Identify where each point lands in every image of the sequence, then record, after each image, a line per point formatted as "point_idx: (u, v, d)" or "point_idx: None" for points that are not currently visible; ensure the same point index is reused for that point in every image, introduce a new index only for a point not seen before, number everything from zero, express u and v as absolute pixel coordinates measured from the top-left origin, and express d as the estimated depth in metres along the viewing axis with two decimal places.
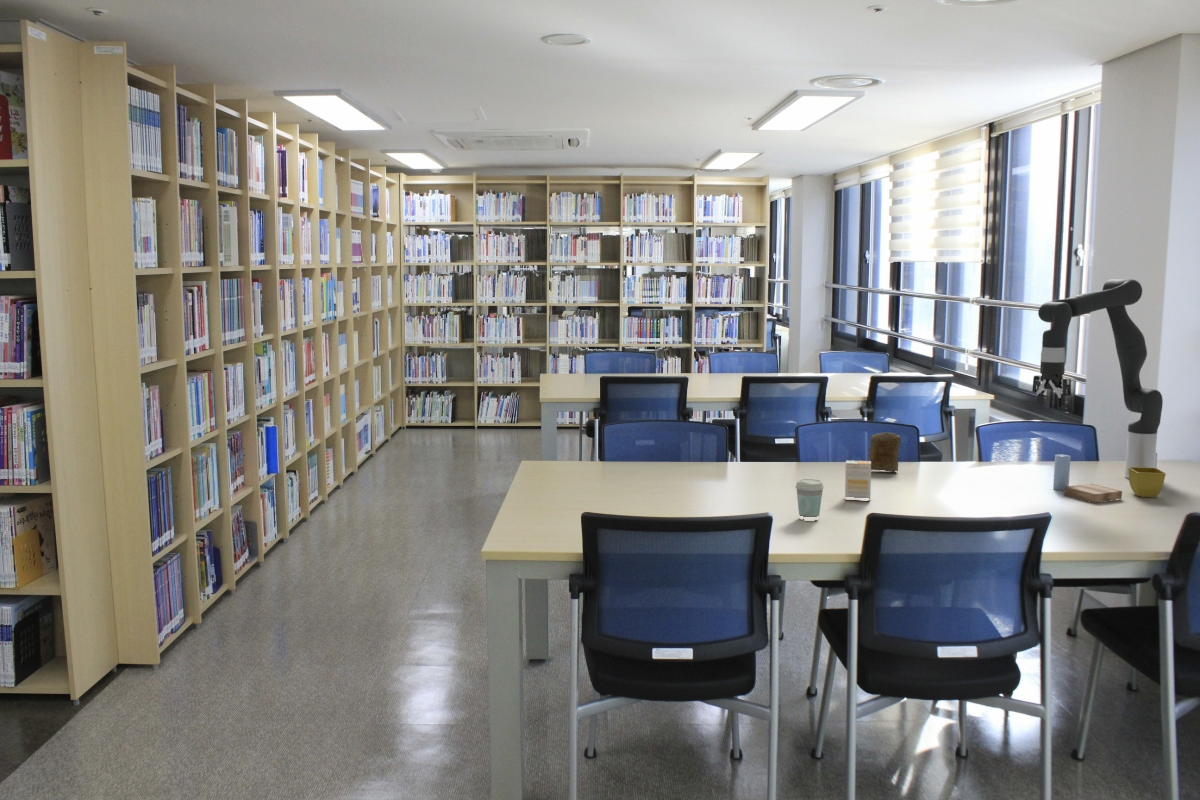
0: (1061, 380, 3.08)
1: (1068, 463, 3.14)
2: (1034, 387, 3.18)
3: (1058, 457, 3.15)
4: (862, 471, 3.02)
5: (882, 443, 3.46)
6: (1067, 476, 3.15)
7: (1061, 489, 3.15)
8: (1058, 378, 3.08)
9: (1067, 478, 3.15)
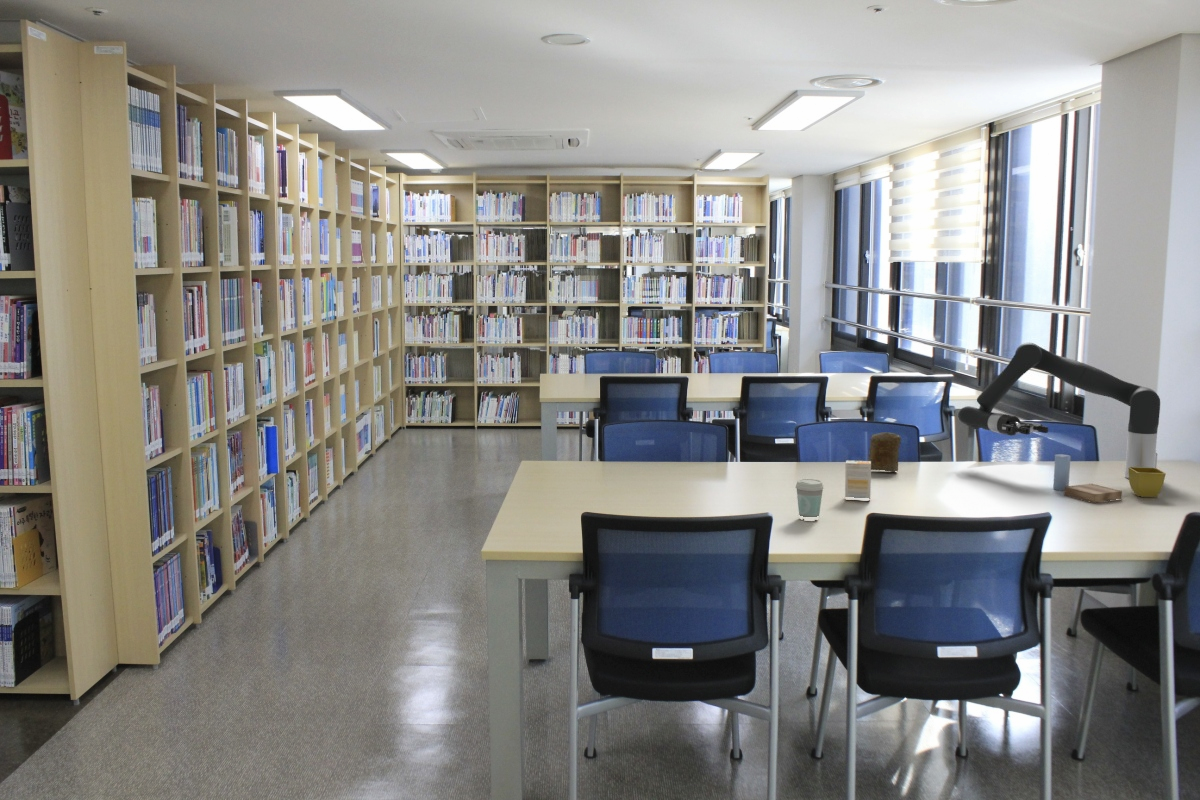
0: None
1: (1068, 463, 3.14)
2: None
3: (1058, 457, 3.15)
4: (862, 471, 3.02)
5: (882, 443, 3.46)
6: (1067, 476, 3.15)
7: (1061, 489, 3.15)
8: None
9: (1067, 478, 3.15)
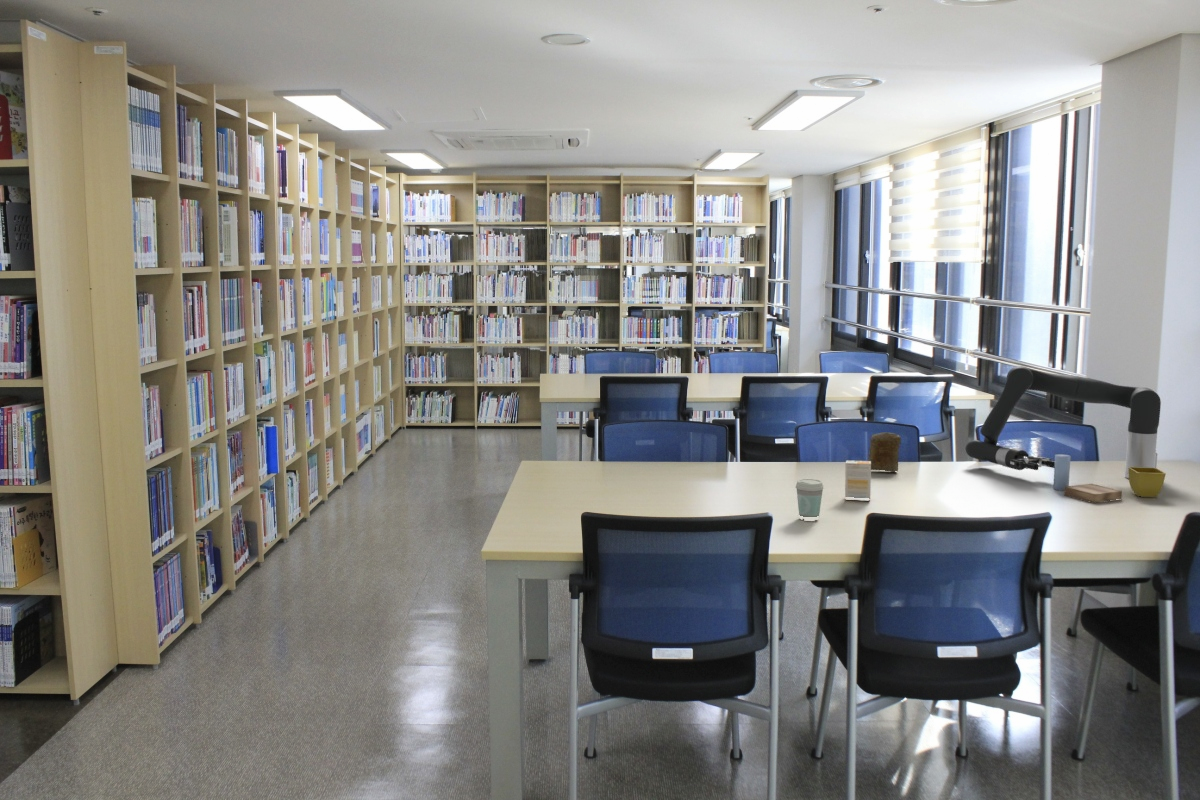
0: None
1: (1068, 463, 3.14)
2: None
3: (1058, 457, 3.15)
4: (862, 471, 3.02)
5: (882, 443, 3.46)
6: (1067, 476, 3.15)
7: (1061, 489, 3.15)
8: None
9: (1067, 478, 3.15)
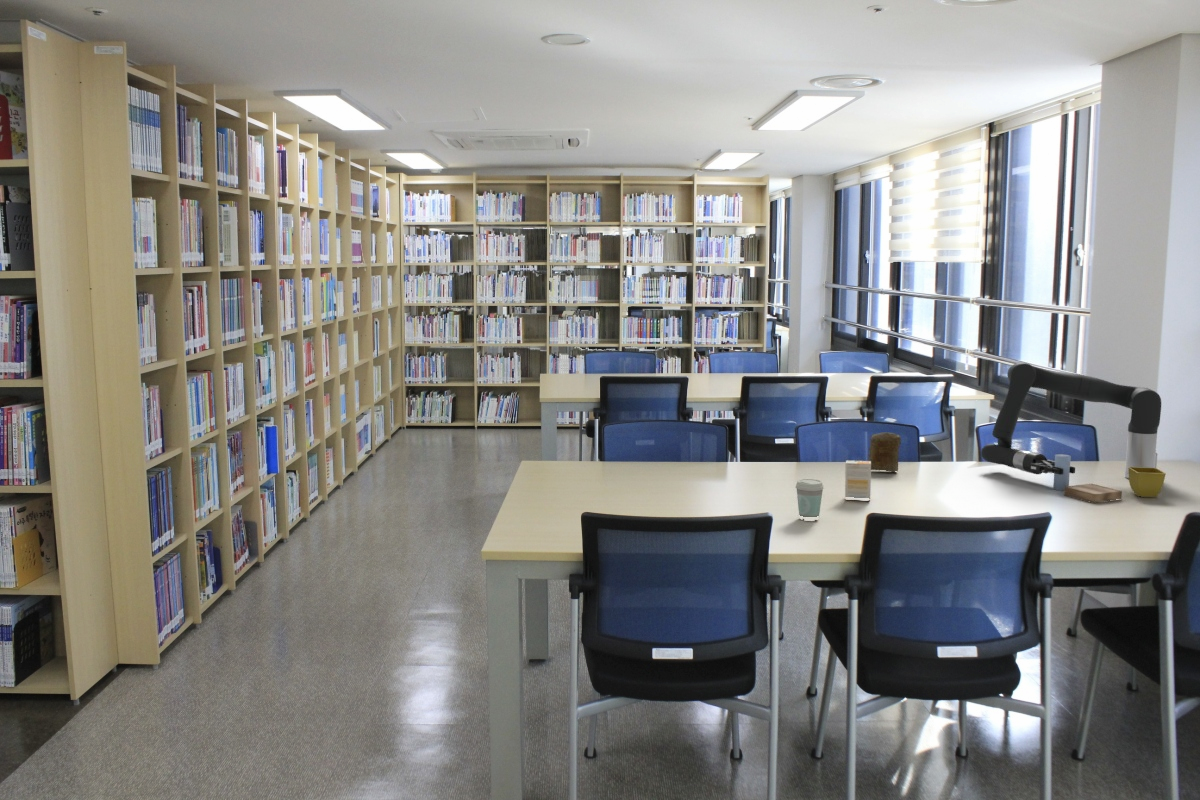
0: None
1: (1068, 463, 3.14)
2: None
3: (1058, 457, 3.15)
4: (862, 471, 3.02)
5: (882, 443, 3.46)
6: (1067, 476, 3.15)
7: (1061, 489, 3.15)
8: None
9: (1067, 478, 3.15)
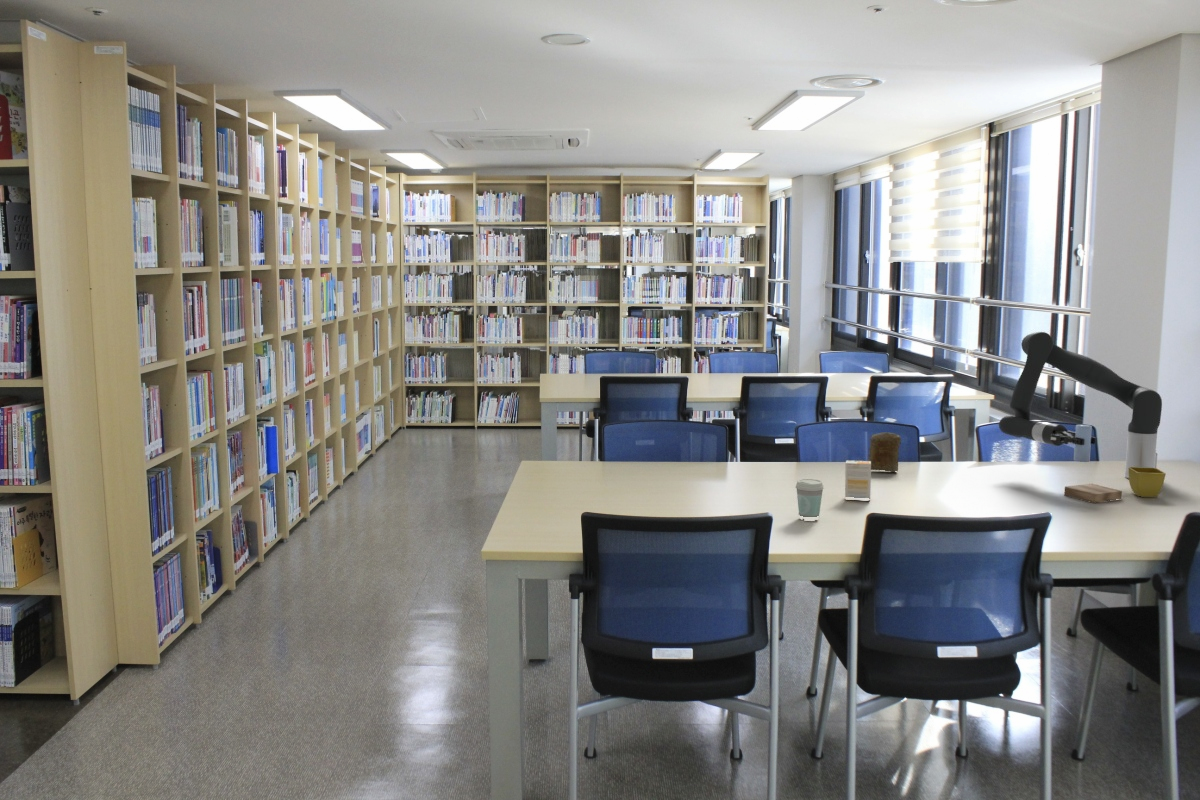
0: None
1: (1089, 433, 3.05)
2: None
3: (1079, 427, 3.06)
4: (862, 471, 3.02)
5: (882, 443, 3.46)
6: (1089, 446, 3.06)
7: (1082, 460, 3.06)
8: None
9: (1088, 449, 3.06)
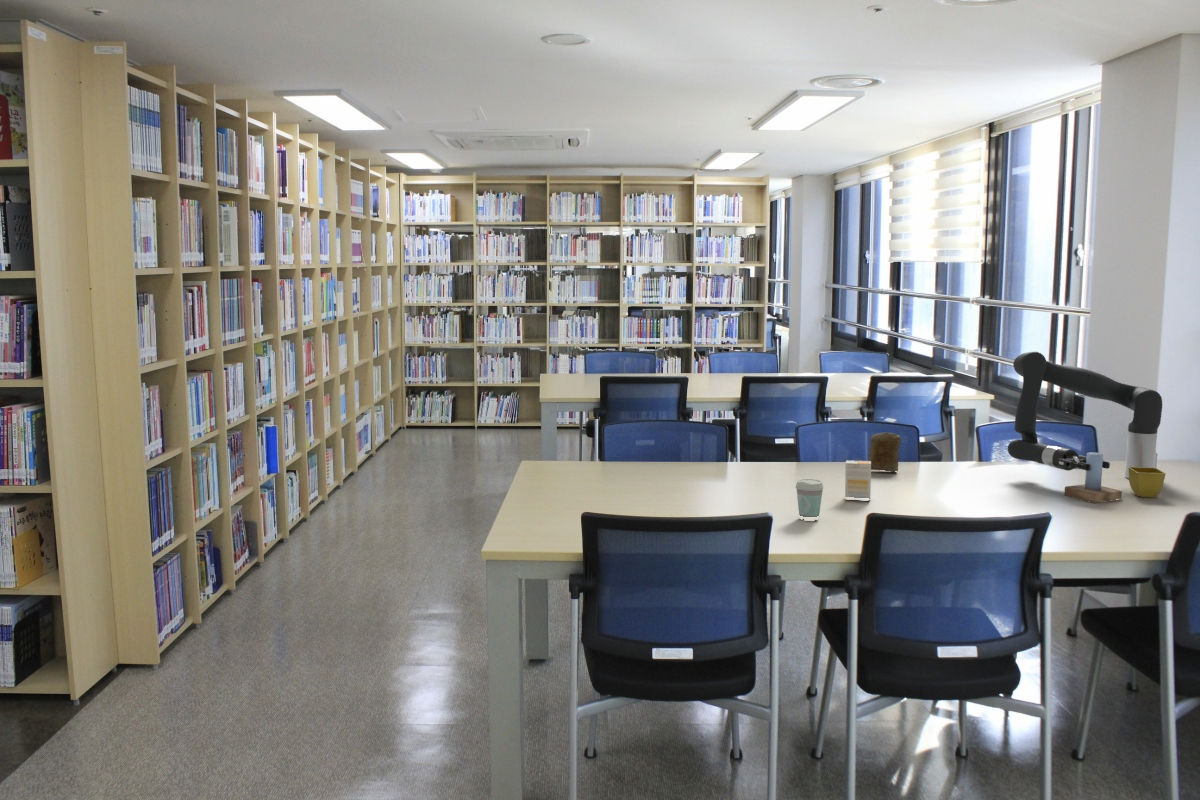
0: None
1: (1100, 461, 3.02)
2: None
3: (1090, 455, 3.02)
4: (862, 471, 3.02)
5: (882, 443, 3.46)
6: (1100, 475, 3.02)
7: (1093, 488, 3.03)
8: None
9: (1099, 477, 3.02)
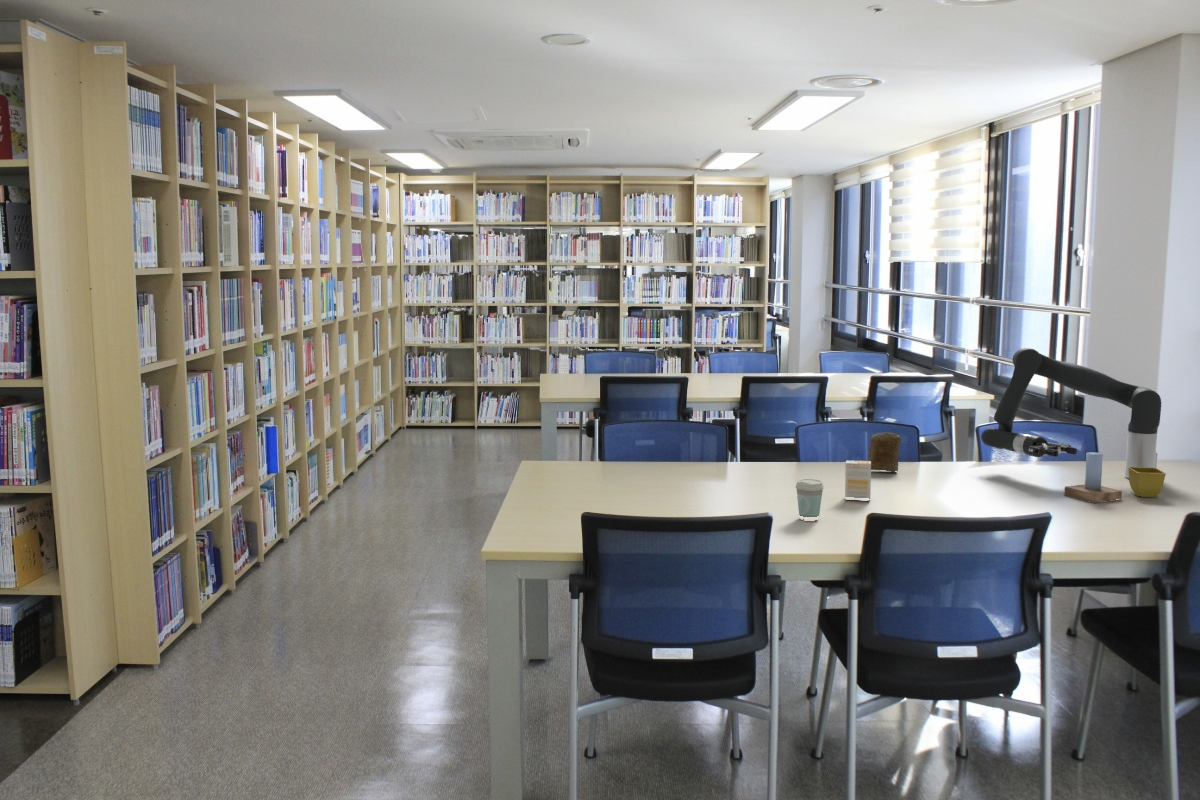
0: None
1: (1100, 461, 3.02)
2: None
3: (1090, 455, 3.02)
4: (862, 471, 3.02)
5: (882, 443, 3.46)
6: (1100, 475, 3.02)
7: (1093, 488, 3.03)
8: None
9: (1099, 477, 3.02)
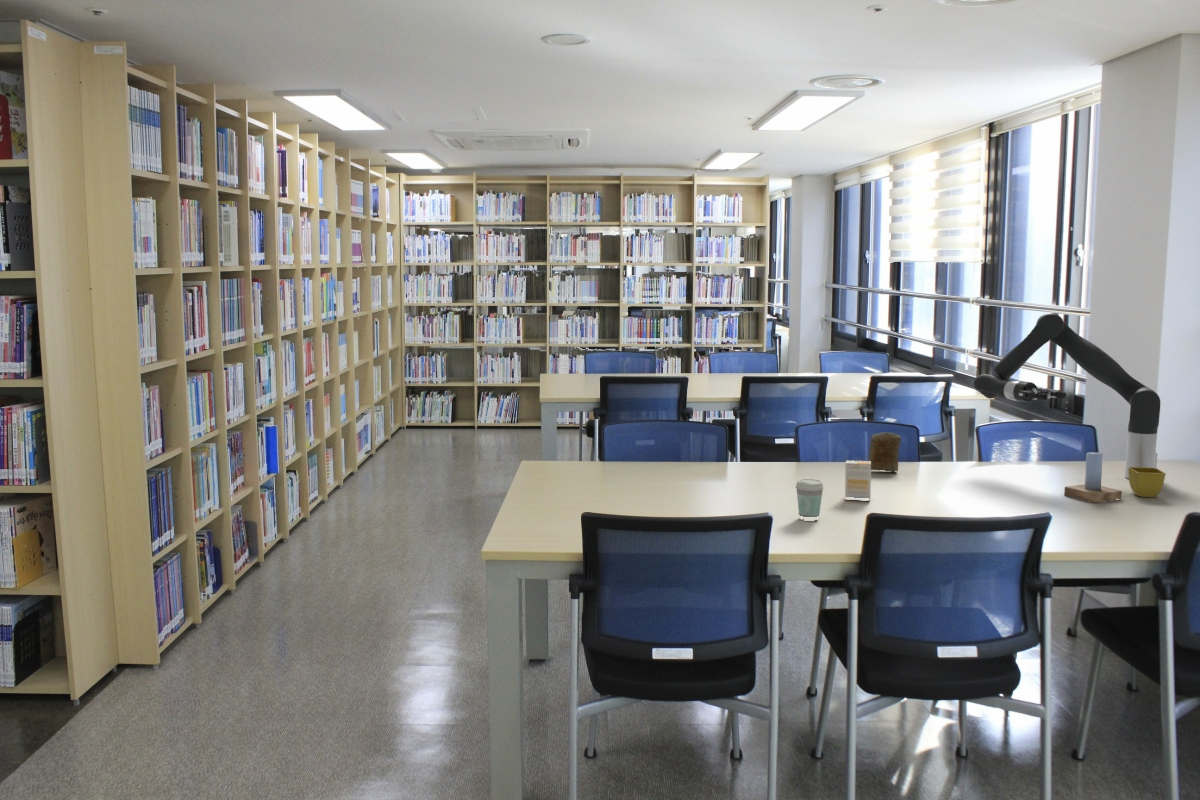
0: None
1: (1100, 461, 3.02)
2: None
3: (1089, 455, 3.03)
4: (862, 471, 3.02)
5: (882, 443, 3.46)
6: (1099, 474, 3.02)
7: (1093, 488, 3.03)
8: None
9: (1099, 477, 3.02)
